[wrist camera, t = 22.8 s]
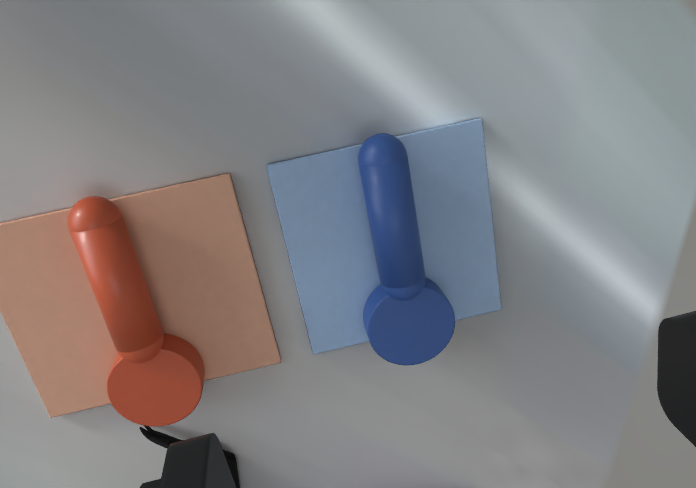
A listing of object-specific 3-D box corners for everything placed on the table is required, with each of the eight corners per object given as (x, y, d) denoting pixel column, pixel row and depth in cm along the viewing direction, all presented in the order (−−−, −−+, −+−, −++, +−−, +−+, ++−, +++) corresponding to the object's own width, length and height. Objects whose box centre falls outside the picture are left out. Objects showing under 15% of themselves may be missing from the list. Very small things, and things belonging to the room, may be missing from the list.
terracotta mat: (-34, 230, 30) (-38, 232, 30) (229, 172, 31) (229, 174, 31) (52, 414, 35) (50, 418, 34) (281, 359, 36) (281, 362, 35)
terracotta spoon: (43, 202, 30) (24, 217, 28) (143, 180, 30) (133, 193, 28) (130, 416, 35) (120, 445, 33) (215, 396, 35) (211, 423, 33)
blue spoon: (326, 140, 31) (332, 150, 28) (421, 119, 31) (434, 127, 29) (370, 358, 36) (378, 382, 34) (451, 339, 36) (464, 361, 34)
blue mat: (266, 164, 31) (266, 166, 31) (479, 117, 32) (482, 118, 32) (312, 351, 36) (313, 354, 35) (499, 306, 36) (501, 309, 36)
